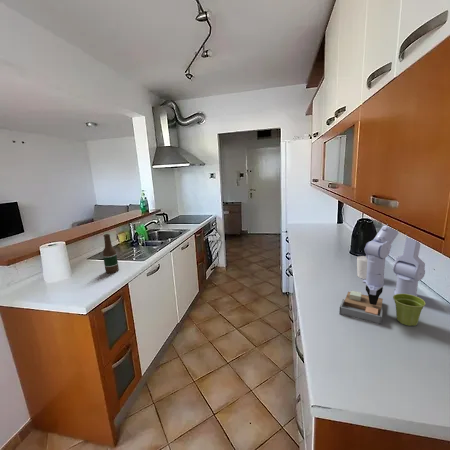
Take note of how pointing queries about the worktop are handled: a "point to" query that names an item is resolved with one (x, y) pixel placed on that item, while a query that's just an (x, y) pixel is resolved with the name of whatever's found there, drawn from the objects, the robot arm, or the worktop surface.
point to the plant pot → (408, 308)
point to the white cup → (362, 267)
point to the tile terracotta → (371, 310)
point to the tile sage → (355, 295)
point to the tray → (360, 314)
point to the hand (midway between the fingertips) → (373, 303)
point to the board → (362, 303)
